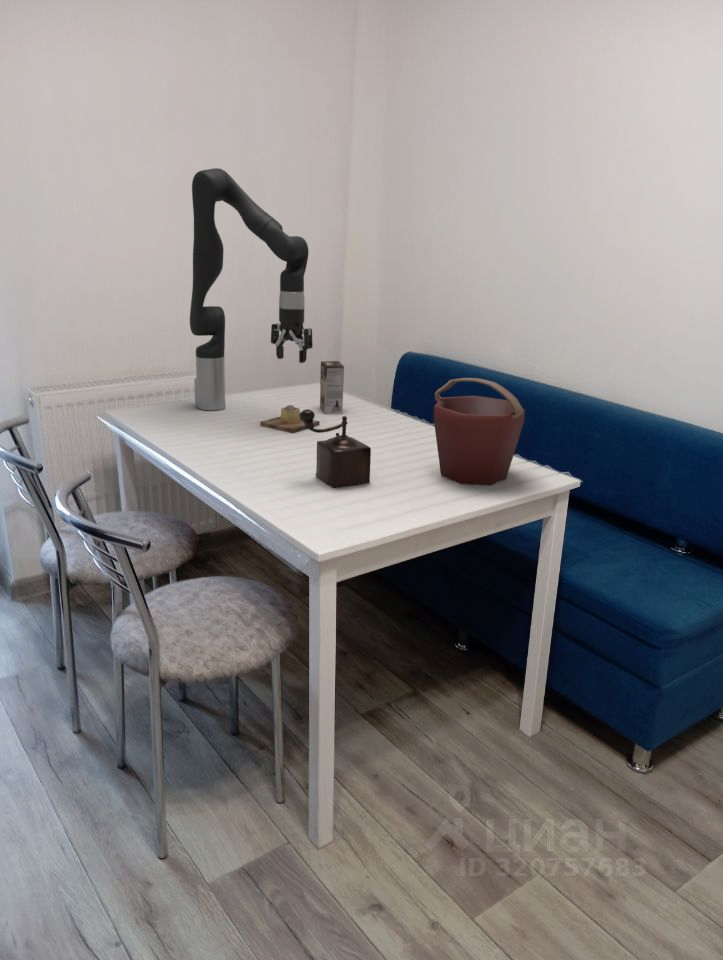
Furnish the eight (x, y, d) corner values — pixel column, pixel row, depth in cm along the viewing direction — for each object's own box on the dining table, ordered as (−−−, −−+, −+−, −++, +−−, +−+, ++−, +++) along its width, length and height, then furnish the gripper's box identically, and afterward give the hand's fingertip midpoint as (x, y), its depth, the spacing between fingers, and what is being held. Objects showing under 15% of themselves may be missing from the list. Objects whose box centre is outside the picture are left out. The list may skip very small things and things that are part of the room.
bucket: (411, 468, 212) (416, 375, 204) (472, 456, 225) (479, 368, 217) (475, 495, 194) (484, 394, 186) (538, 480, 206) (548, 385, 198)
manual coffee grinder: (349, 470, 209) (351, 403, 203) (370, 483, 200) (373, 413, 194) (295, 478, 201) (296, 408, 196) (315, 491, 192) (316, 419, 187)
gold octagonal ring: (277, 421, 249) (277, 409, 247) (289, 418, 253) (289, 405, 252) (291, 424, 246) (291, 412, 244) (303, 421, 250) (303, 408, 249)
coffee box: (319, 407, 273) (320, 360, 268) (337, 407, 274) (338, 360, 269) (324, 414, 265) (325, 366, 259) (343, 413, 266) (344, 365, 261)
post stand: (260, 425, 248) (260, 406, 246) (287, 417, 258) (287, 399, 256) (293, 433, 241) (293, 413, 239) (319, 424, 251) (319, 405, 249)
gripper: (265, 305, 239) (265, 359, 244) (302, 310, 231) (302, 365, 237) (281, 303, 245) (281, 355, 250) (318, 307, 237) (317, 362, 243)
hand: (291, 360), depth 243 cm, fingers open, 8 cm apart
